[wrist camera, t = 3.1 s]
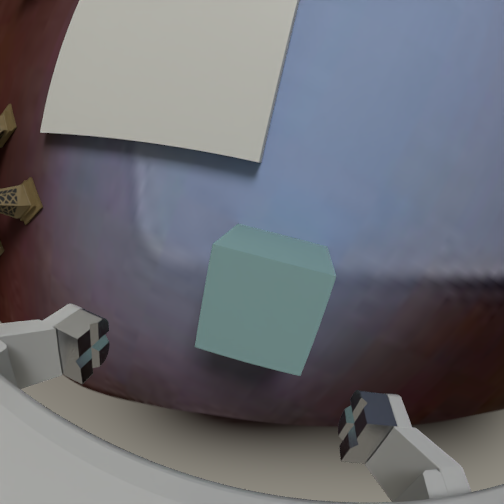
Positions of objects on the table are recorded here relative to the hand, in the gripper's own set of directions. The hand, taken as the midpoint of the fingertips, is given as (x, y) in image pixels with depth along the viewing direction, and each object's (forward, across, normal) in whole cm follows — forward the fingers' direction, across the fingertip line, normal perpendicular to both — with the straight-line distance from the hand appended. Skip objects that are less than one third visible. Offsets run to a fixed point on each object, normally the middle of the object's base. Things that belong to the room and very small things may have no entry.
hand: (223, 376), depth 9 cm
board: (+9, +9, -12) cm, 18 cm away
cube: (+9, -1, 0) cm, 9 cm away
